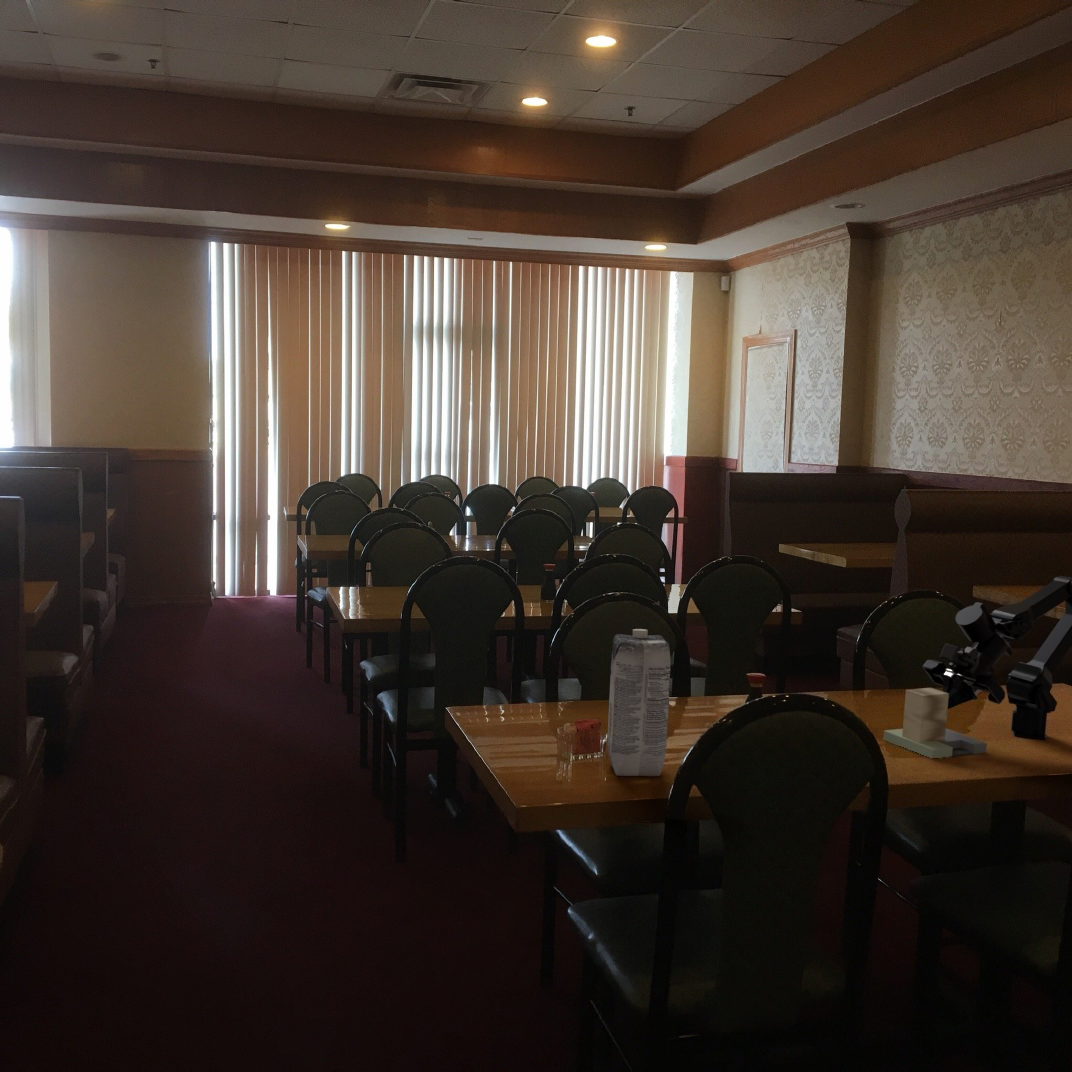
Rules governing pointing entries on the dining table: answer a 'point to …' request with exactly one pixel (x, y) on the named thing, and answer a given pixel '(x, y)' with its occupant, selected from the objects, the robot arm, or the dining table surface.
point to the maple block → (925, 715)
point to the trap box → (938, 744)
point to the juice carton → (638, 704)
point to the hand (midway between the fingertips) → (939, 710)
